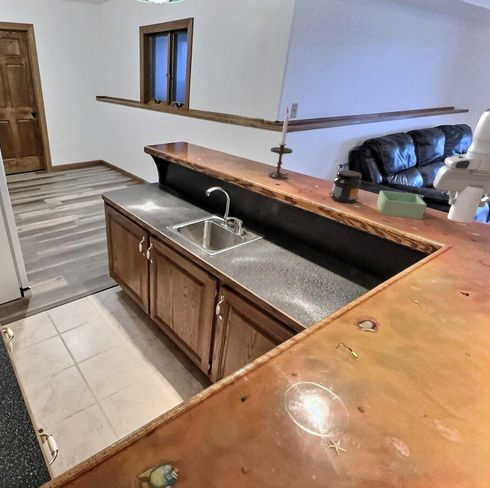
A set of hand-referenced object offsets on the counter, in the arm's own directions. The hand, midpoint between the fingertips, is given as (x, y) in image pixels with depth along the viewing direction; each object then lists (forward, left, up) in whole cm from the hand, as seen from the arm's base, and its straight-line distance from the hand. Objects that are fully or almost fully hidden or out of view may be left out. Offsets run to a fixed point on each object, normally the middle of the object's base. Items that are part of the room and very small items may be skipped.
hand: (465, 205), depth 112 cm
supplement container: (+31, -33, -13) cm, 47 cm away
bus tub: (+11, -26, -13) cm, 31 cm away
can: (0, 0, -5) cm, 5 cm away
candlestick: (+61, -61, -13) cm, 87 cm away
